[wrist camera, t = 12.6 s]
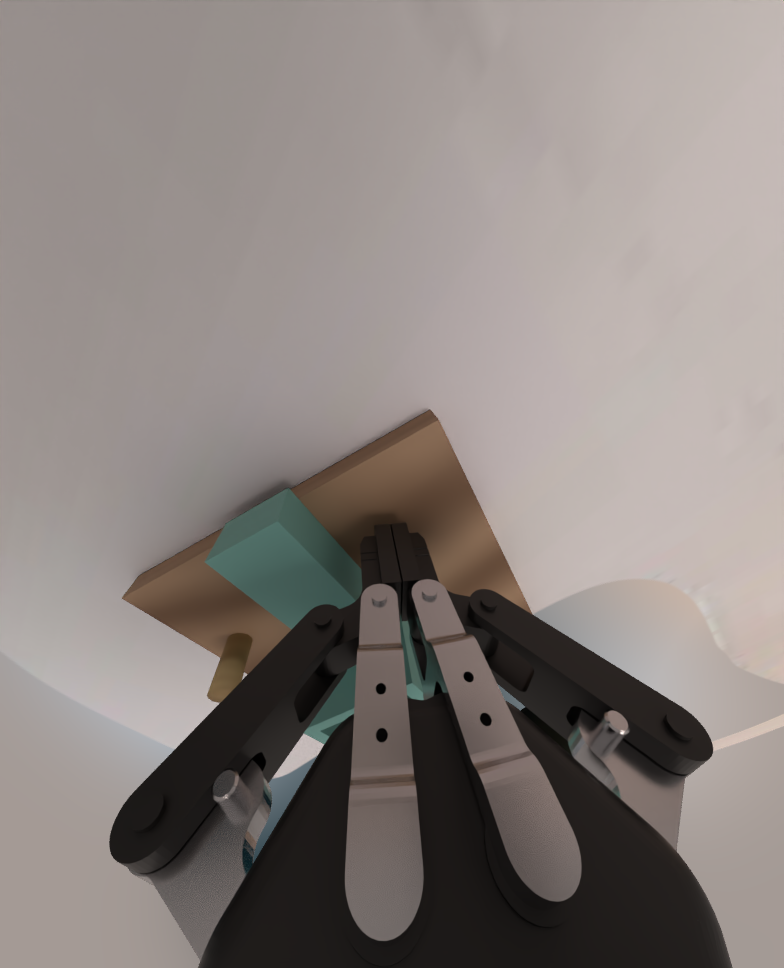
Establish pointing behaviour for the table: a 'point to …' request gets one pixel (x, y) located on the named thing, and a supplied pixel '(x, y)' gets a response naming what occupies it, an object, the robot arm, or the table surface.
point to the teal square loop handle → (298, 583)
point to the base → (348, 518)
